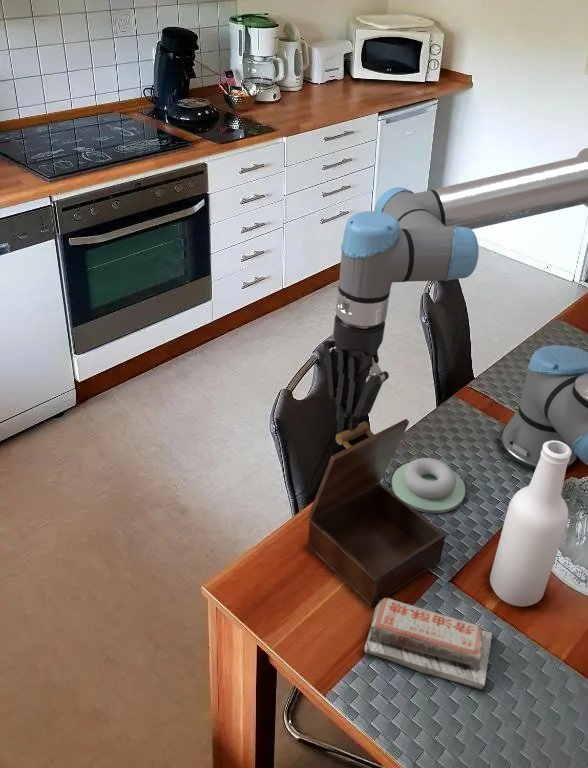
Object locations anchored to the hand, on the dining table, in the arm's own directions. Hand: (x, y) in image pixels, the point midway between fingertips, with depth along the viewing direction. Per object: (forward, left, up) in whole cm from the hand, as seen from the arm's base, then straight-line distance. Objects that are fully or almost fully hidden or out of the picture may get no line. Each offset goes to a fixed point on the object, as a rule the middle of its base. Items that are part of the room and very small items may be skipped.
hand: (344, 440), depth 123 cm
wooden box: (-9, +4, -19) cm, 21 cm away
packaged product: (-23, +17, -19) cm, 35 cm away
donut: (-11, -17, -19) cm, 28 cm away
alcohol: (-32, -1, -19) cm, 38 cm away
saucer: (-11, -17, -19) cm, 28 cm away
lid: (-4, +1, -4) cm, 6 cm away
